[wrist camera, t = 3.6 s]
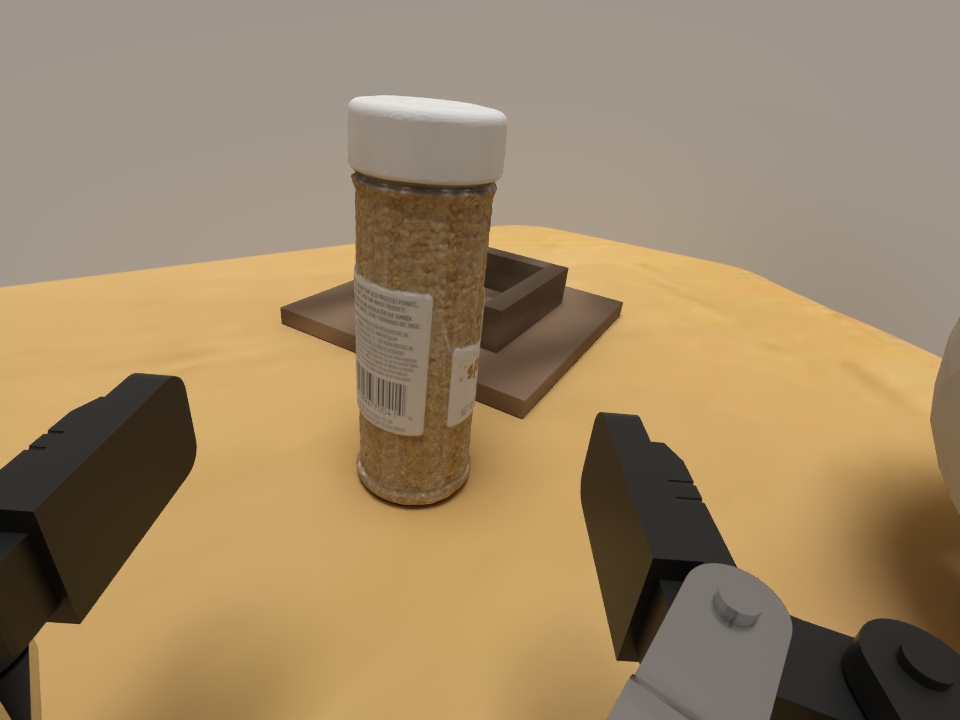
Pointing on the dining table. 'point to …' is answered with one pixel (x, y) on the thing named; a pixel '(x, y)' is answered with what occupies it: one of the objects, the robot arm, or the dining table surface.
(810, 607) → the dining table surface
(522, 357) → the walnut stand
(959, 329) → the ceramic pitcher
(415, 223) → the spice jar
